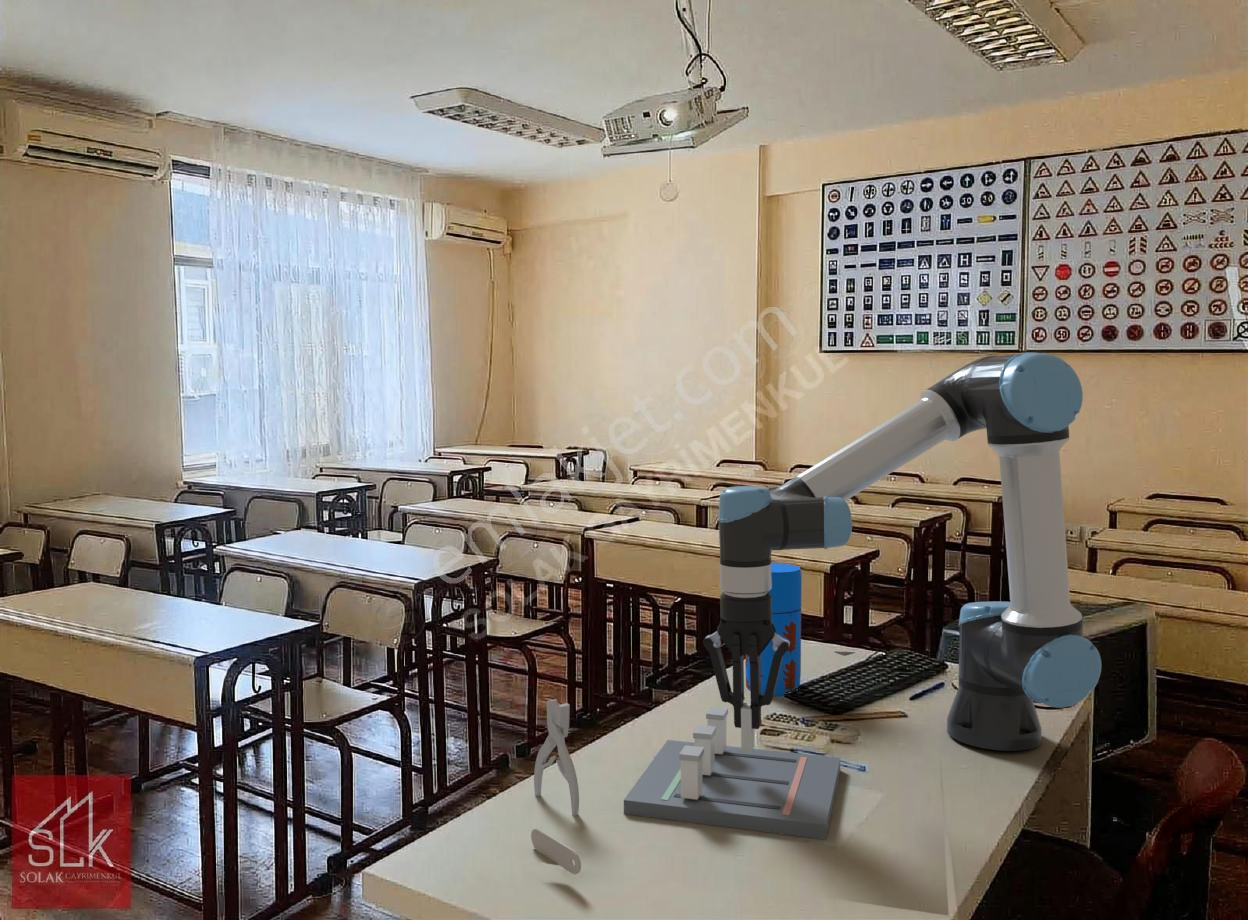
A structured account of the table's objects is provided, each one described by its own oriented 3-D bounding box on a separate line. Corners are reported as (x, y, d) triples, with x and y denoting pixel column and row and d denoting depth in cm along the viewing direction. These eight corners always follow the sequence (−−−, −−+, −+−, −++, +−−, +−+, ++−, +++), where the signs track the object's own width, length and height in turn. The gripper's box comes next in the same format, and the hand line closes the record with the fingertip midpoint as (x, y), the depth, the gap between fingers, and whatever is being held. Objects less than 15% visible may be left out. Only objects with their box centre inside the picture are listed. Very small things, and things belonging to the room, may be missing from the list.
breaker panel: (840, 770, 152) (840, 756, 152) (825, 839, 128) (825, 823, 128) (667, 751, 160) (667, 739, 160) (623, 813, 137) (623, 799, 136)
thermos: (798, 684, 198) (799, 563, 196) (802, 701, 187) (804, 572, 185) (744, 683, 199) (745, 562, 197) (745, 699, 188) (746, 572, 186)
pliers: (584, 813, 137) (583, 709, 136) (575, 816, 136) (574, 711, 135) (542, 792, 144) (542, 693, 143) (534, 794, 143) (533, 695, 142)
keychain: (583, 876, 119) (582, 852, 119) (579, 878, 119) (578, 854, 118) (535, 845, 127) (534, 823, 127) (531, 847, 127) (530, 825, 126)
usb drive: (826, 662, 216) (826, 650, 216) (861, 653, 223) (861, 642, 223) (844, 667, 212) (844, 655, 211) (879, 658, 219) (879, 646, 219)
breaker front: (704, 790, 138) (704, 747, 138) (698, 800, 135) (698, 756, 135) (684, 787, 139) (685, 745, 139) (679, 797, 136) (679, 753, 135)
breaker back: (727, 746, 156) (728, 708, 155) (723, 754, 152) (723, 715, 152) (710, 745, 156) (710, 706, 156) (706, 752, 153) (706, 713, 153)
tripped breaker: (716, 767, 147) (716, 726, 147) (711, 776, 144) (711, 734, 143) (698, 765, 148) (698, 724, 147) (692, 773, 144) (692, 732, 144)
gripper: (793, 588, 144) (795, 743, 145) (707, 585, 148) (710, 736, 149) (787, 599, 137) (788, 762, 138) (696, 595, 141) (699, 754, 142)
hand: (748, 748), depth 144 cm, fingers closed
